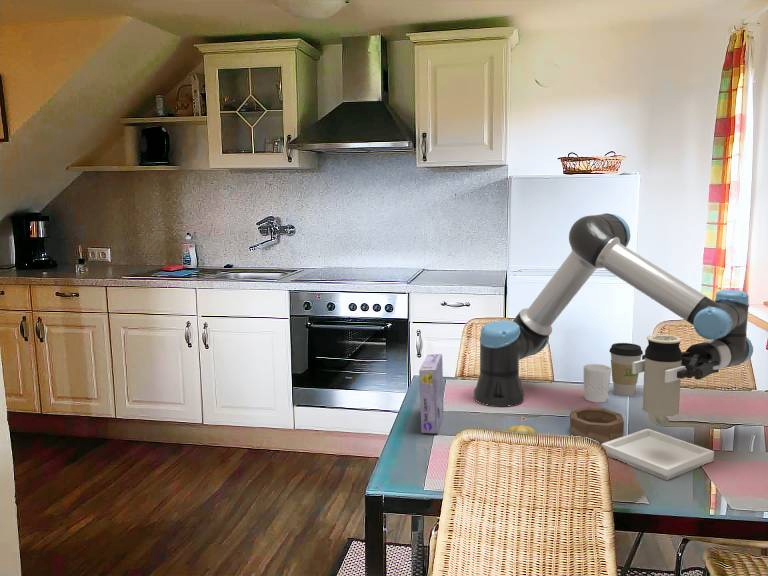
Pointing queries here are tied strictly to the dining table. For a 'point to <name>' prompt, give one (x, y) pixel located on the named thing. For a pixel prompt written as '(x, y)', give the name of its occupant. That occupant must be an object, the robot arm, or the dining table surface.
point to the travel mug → (661, 375)
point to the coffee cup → (624, 367)
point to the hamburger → (522, 428)
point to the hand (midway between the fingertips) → (649, 372)
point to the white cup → (596, 382)
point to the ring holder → (596, 424)
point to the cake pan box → (431, 393)
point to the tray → (658, 453)
